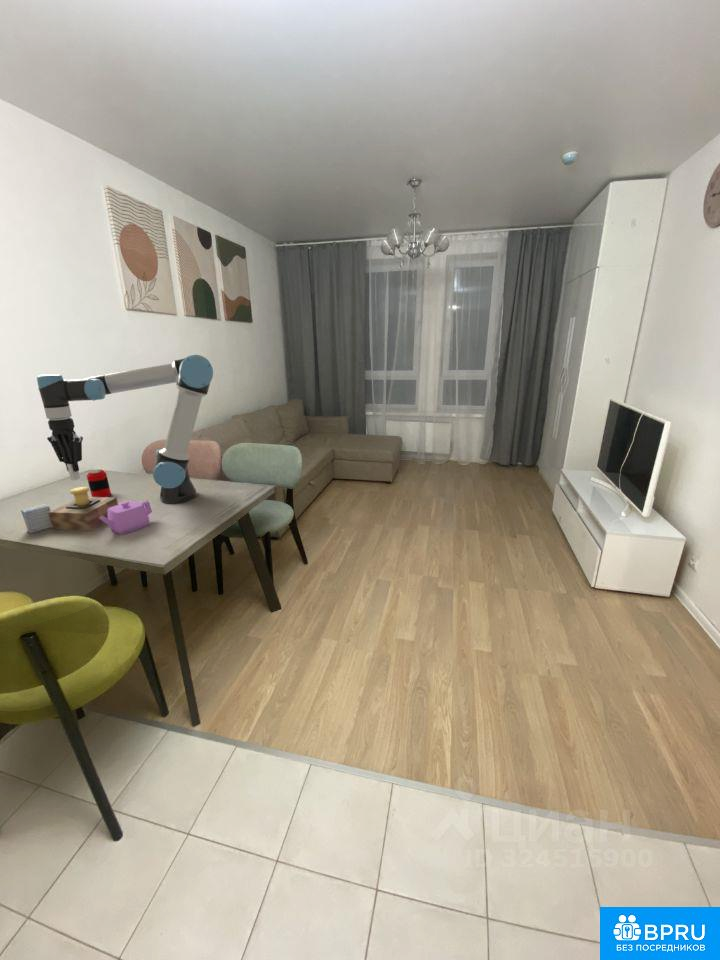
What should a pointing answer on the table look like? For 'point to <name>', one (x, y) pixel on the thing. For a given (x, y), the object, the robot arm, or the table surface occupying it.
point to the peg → (81, 495)
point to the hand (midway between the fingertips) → (75, 479)
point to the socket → (81, 514)
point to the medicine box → (37, 518)
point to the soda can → (98, 483)
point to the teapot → (128, 516)
